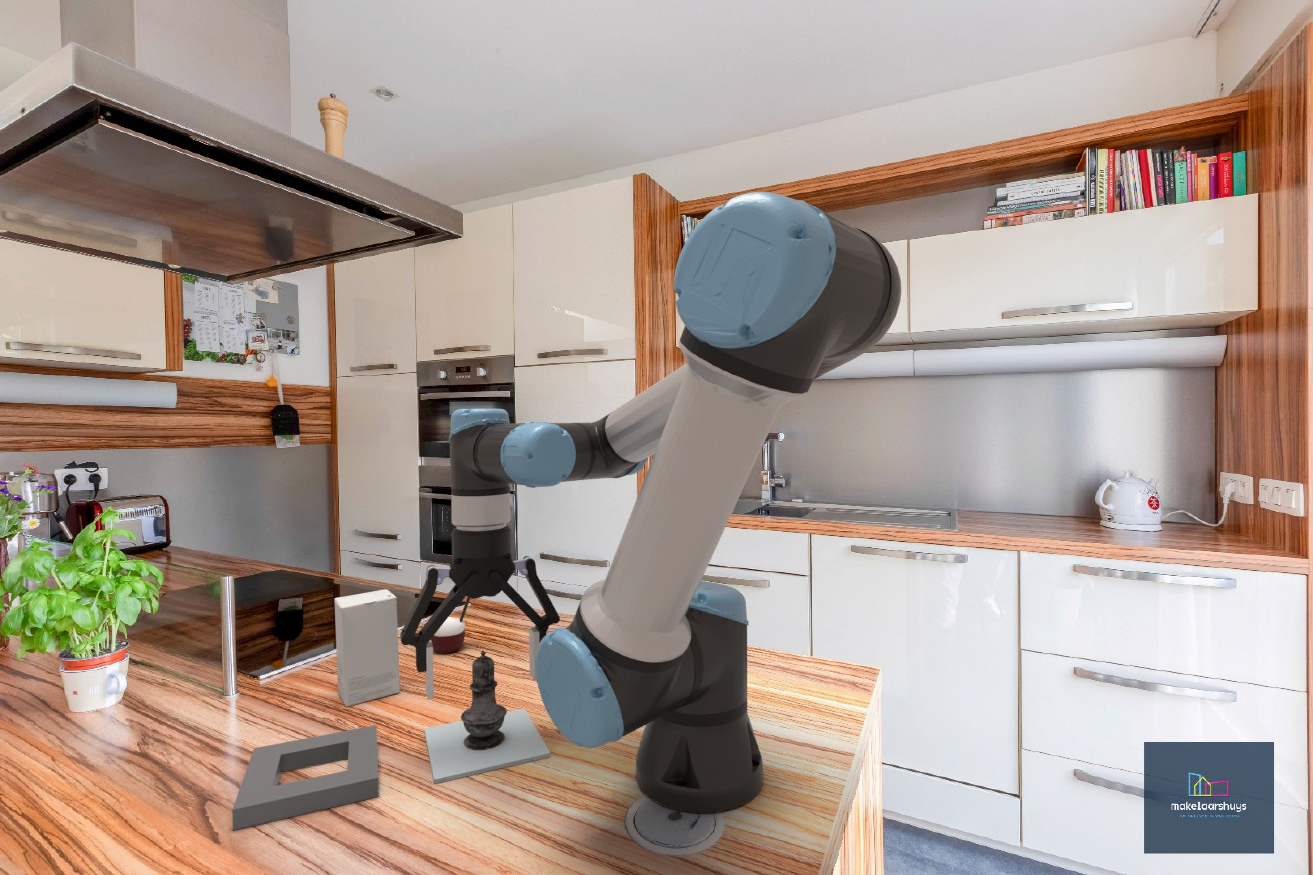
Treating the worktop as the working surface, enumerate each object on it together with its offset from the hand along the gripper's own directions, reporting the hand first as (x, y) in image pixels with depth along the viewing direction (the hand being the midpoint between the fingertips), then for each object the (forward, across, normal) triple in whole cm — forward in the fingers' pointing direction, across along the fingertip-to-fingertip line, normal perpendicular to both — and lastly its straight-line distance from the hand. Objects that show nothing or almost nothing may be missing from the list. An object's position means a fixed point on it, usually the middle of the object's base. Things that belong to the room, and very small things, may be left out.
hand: (484, 685), depth 84 cm
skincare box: (+8, +14, -24) cm, 29 cm away
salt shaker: (+8, 0, 0) cm, 8 cm away
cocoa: (+8, 0, -39) cm, 40 cm away
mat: (+8, 0, 0) cm, 8 cm away
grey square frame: (+8, +20, 0) cm, 21 cm away
